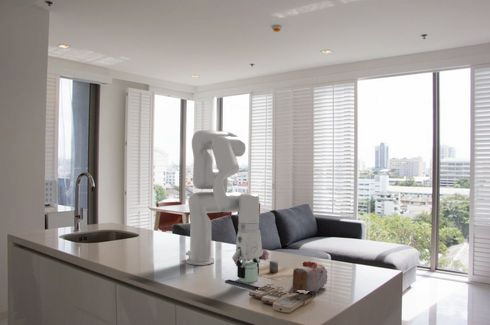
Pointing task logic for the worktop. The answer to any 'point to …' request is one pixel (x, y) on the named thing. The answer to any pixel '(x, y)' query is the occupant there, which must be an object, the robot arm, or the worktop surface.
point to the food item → (309, 276)
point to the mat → (241, 285)
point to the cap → (250, 272)
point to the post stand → (275, 271)
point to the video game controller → (264, 254)
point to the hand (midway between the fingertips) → (248, 275)
